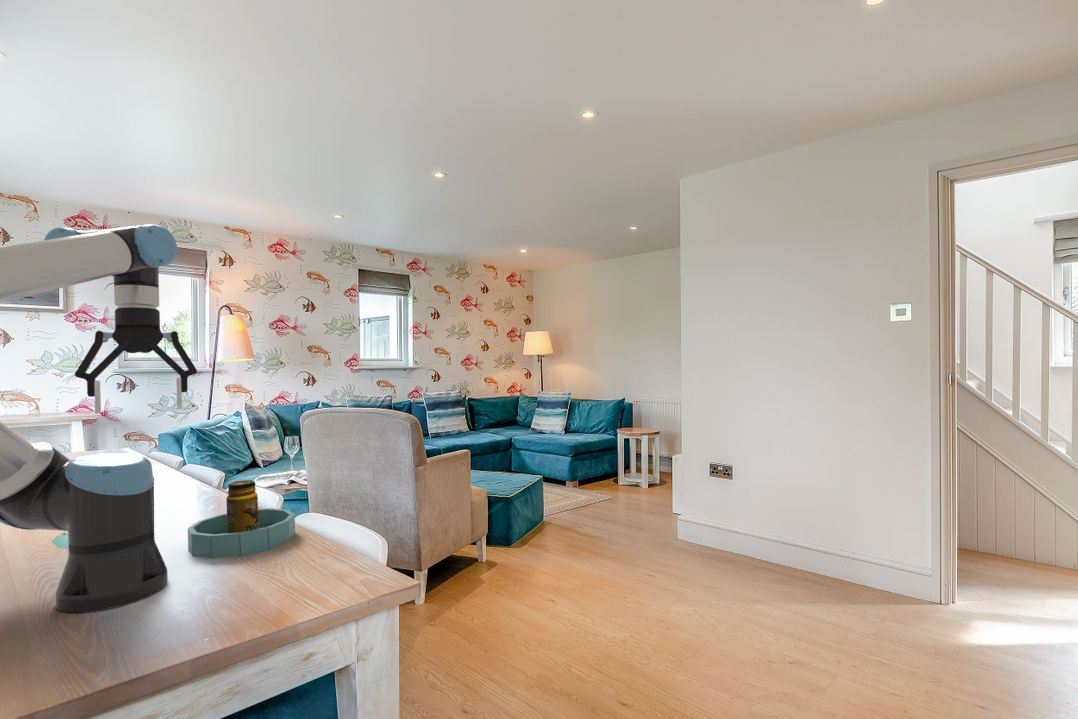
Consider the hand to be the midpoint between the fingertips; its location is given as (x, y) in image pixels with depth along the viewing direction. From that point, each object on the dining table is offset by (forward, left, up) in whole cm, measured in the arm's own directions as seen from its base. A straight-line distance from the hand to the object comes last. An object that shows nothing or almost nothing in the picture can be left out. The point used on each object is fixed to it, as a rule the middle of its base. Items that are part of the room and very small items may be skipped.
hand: (140, 410), depth 113 cm
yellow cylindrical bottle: (-6, -16, -29) cm, 34 cm away
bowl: (-6, -17, -30) cm, 35 cm away
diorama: (+26, +9, -30) cm, 41 cm away
